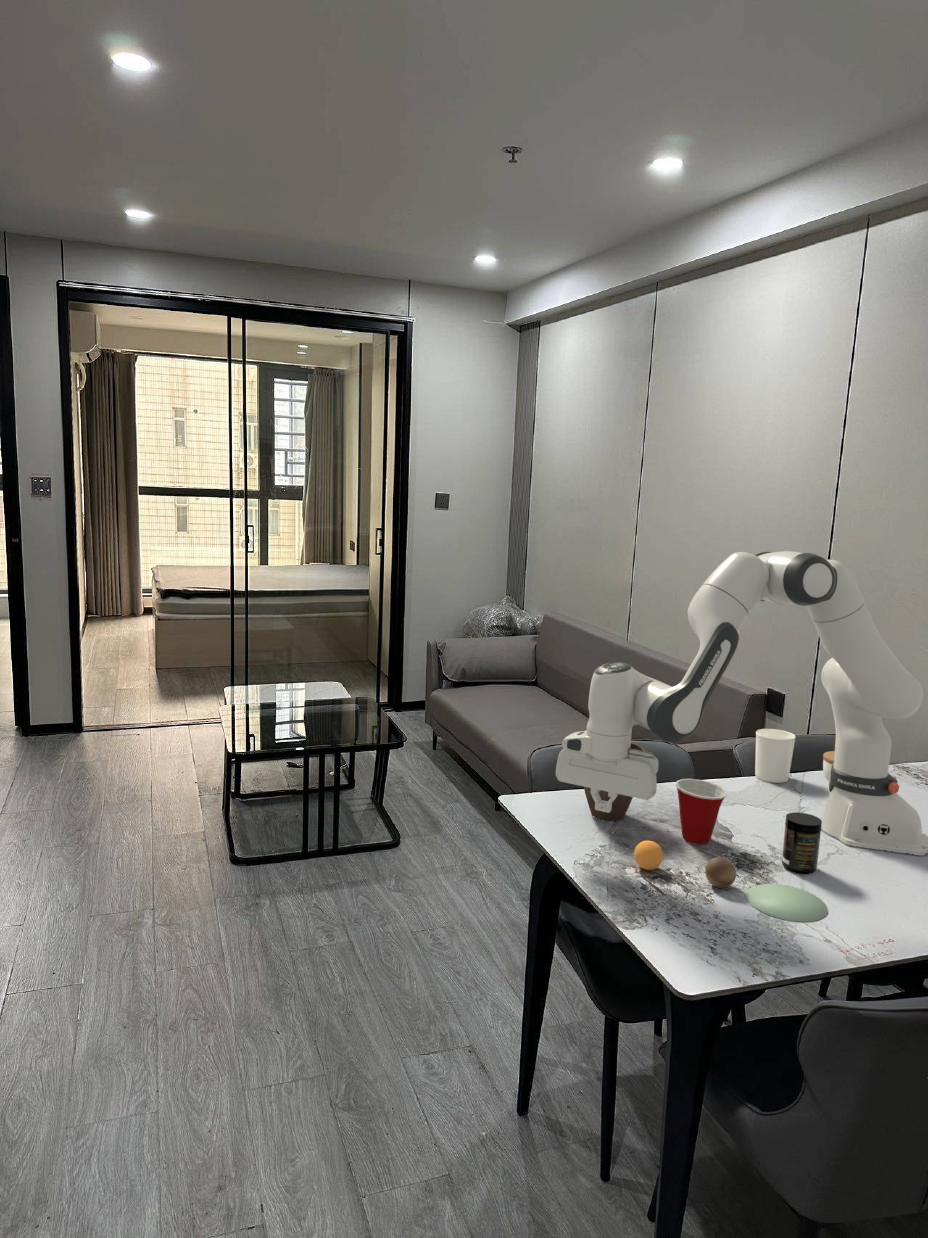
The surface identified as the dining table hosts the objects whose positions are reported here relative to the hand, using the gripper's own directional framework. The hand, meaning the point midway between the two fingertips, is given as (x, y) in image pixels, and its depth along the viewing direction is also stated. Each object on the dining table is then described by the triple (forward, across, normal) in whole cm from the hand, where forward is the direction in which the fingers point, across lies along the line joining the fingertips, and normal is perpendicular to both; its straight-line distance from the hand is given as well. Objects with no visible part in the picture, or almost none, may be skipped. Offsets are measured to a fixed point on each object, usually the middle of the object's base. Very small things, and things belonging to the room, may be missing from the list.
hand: (602, 810), depth 172 cm
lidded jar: (+9, -39, -76) cm, 86 cm away
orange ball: (+7, -10, 0) cm, 12 cm away
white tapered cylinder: (+9, -22, -72) cm, 76 cm away
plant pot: (+10, +6, -22) cm, 25 cm away
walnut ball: (+7, -24, 0) cm, 25 cm away
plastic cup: (+10, -15, -20) cm, 27 cm away
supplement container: (+10, -36, -17) cm, 41 cm away
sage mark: (+10, -36, 0) cm, 37 cm away
